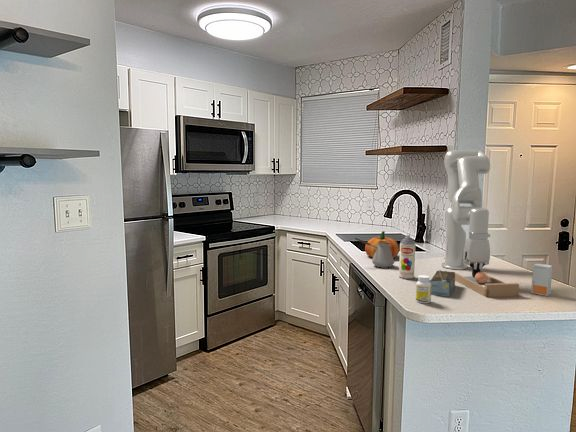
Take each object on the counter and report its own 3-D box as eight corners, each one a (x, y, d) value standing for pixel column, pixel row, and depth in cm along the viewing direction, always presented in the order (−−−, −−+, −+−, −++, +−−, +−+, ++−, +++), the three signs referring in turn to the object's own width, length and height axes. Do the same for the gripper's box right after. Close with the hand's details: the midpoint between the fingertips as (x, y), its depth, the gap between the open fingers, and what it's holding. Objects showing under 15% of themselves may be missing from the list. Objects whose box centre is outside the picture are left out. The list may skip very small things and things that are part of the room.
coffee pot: (391, 264, 220) (392, 236, 219) (396, 269, 209) (397, 239, 207) (351, 263, 221) (352, 235, 219) (354, 268, 210) (354, 239, 208)
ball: (474, 269, 179) (479, 276, 174) (485, 269, 179) (490, 276, 174) (471, 278, 181) (476, 286, 177) (482, 278, 181) (488, 285, 177)
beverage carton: (428, 294, 166) (429, 278, 165) (436, 283, 183) (436, 269, 182) (449, 297, 162) (450, 281, 162) (455, 286, 179) (455, 271, 179)
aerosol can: (397, 278, 190) (399, 235, 188) (400, 275, 196) (401, 233, 194) (413, 280, 187) (414, 236, 185) (414, 276, 194) (416, 234, 192)
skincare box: (530, 293, 168) (532, 264, 167) (533, 291, 171) (535, 263, 170) (547, 296, 164) (550, 267, 162) (550, 294, 166) (552, 265, 165)
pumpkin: (362, 259, 232) (363, 233, 230) (367, 253, 250) (367, 228, 248) (398, 262, 226) (398, 234, 224) (399, 255, 244) (400, 230, 242)
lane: (453, 279, 189) (453, 268, 189) (480, 278, 190) (481, 268, 190) (486, 297, 162) (486, 284, 162) (518, 296, 164) (519, 284, 163)
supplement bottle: (422, 298, 160) (423, 273, 159) (433, 302, 156) (434, 277, 154) (412, 300, 158) (413, 275, 157) (423, 304, 153) (424, 278, 152)
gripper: (489, 235, 185) (487, 275, 186) (457, 235, 183) (455, 275, 185) (499, 237, 177) (497, 279, 179) (466, 238, 176) (464, 280, 178)
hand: (475, 277), depth 182 cm, fingers closed
